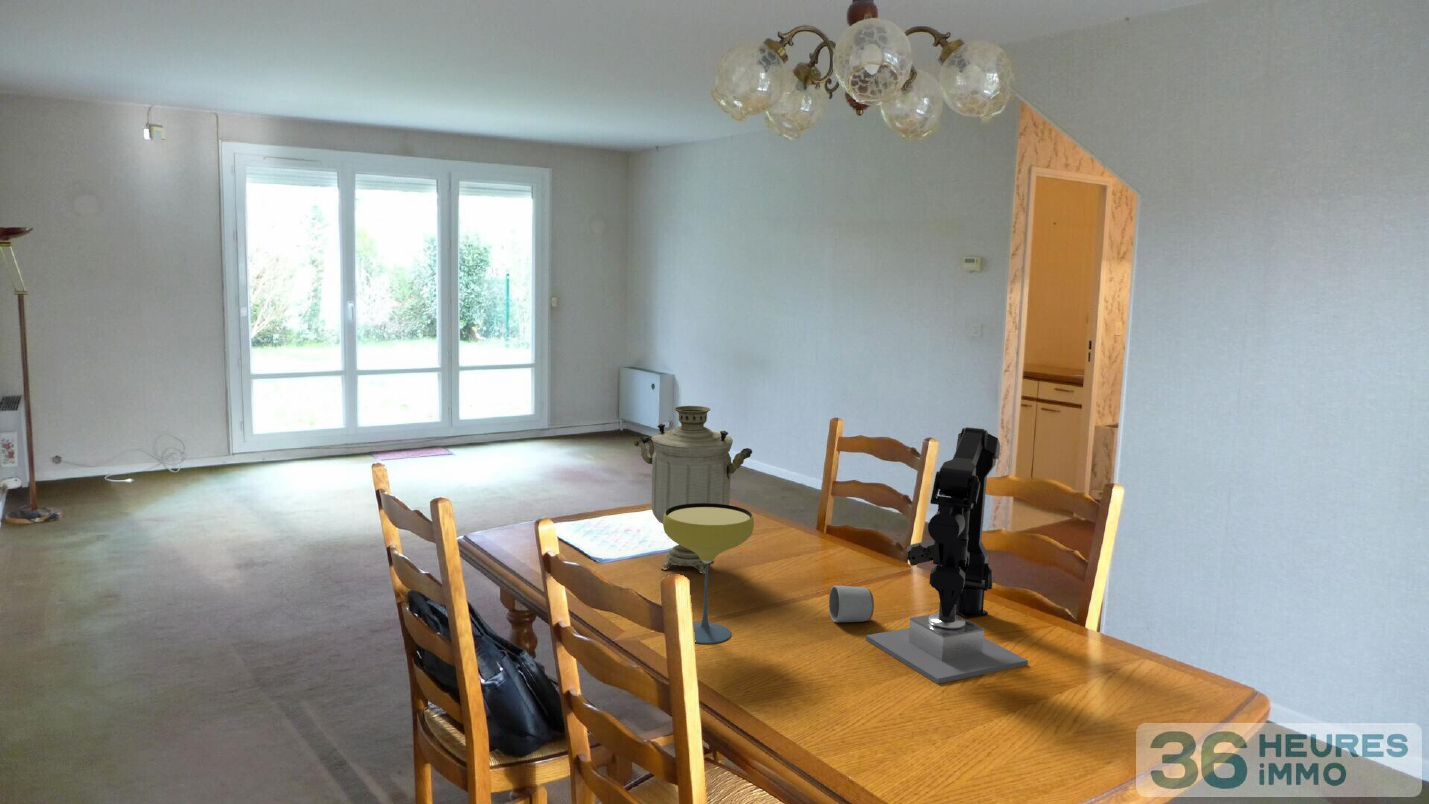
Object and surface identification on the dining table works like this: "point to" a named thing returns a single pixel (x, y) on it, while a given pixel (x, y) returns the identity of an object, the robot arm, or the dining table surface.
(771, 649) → the dining table surface
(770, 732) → the dining table surface
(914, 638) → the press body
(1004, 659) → the slate mat
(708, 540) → the cocktail glass
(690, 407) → the samovar
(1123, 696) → the dining table surface
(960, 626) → the plunger
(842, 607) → the ceramic mug
